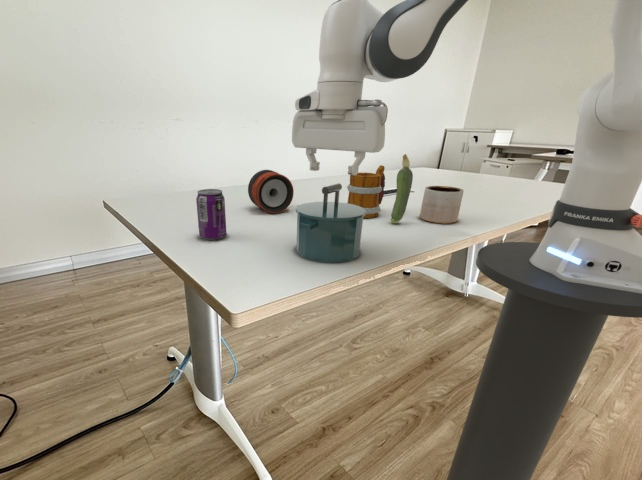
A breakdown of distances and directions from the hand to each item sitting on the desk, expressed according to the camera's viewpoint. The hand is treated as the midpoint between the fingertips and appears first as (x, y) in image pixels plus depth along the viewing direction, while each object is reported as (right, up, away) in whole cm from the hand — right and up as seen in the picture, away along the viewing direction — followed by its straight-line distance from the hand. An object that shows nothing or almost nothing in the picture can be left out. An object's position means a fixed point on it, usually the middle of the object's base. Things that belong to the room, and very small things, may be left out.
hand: (332, 172), depth 74 cm
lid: (0, -8, +4) cm, 9 cm away
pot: (0, -16, +8) cm, 18 cm away
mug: (+18, -1, +41) cm, 45 cm away
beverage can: (-29, -12, +17) cm, 36 cm away
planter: (+39, -5, +34) cm, 52 cm away
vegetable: (+25, -7, +29) cm, 39 cm away
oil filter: (-14, +1, +45) cm, 47 cm away
